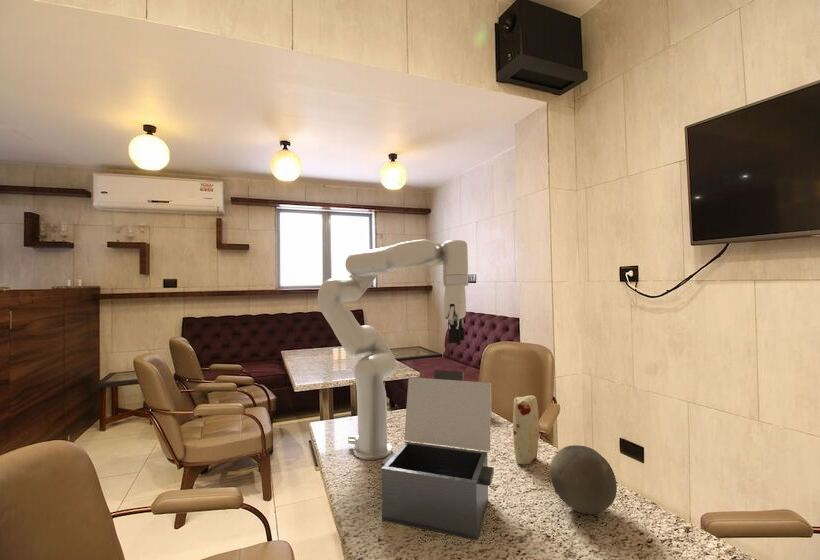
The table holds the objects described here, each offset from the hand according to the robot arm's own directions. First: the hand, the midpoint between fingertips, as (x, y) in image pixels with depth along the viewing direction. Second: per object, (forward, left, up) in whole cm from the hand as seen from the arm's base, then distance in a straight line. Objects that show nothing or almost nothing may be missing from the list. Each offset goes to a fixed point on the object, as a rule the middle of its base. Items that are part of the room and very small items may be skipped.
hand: (456, 340), depth 115 cm
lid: (0, -13, -16) cm, 21 cm away
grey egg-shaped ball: (+33, -14, -38) cm, 52 cm away
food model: (+19, +9, -38) cm, 43 cm away
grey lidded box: (0, -24, -37) cm, 44 cm away
